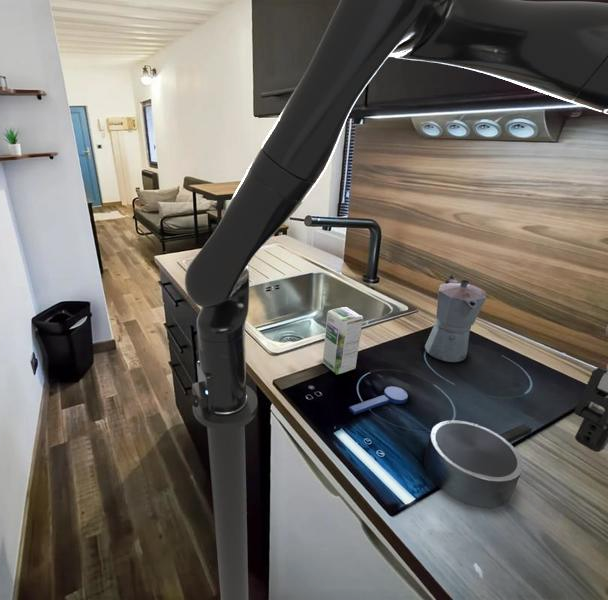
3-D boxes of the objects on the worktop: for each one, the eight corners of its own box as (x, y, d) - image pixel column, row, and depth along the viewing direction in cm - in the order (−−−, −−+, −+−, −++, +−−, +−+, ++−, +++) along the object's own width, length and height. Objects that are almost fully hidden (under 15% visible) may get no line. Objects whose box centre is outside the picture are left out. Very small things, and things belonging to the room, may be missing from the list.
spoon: (359, 419, 72) (359, 415, 72) (344, 405, 76) (344, 401, 76) (411, 400, 76) (412, 396, 76) (395, 387, 80) (396, 384, 80)
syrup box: (321, 362, 90) (325, 310, 84) (340, 356, 92) (346, 305, 86) (336, 375, 85) (342, 321, 79) (356, 368, 87) (364, 315, 81)
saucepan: (474, 520, 53) (485, 492, 50) (407, 458, 63) (413, 432, 61) (558, 476, 59) (572, 449, 56) (483, 426, 69) (492, 401, 66)
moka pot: (435, 369, 85) (455, 291, 77) (411, 335, 99) (426, 266, 90) (480, 370, 84) (505, 291, 75) (449, 335, 97) (468, 265, 89)
